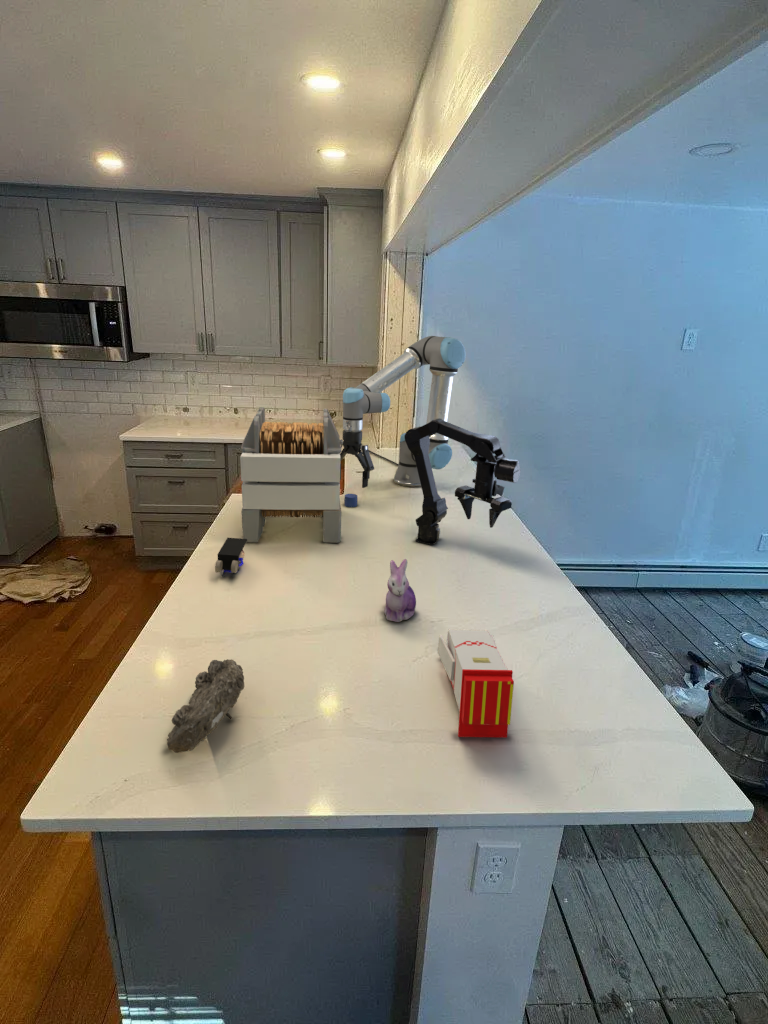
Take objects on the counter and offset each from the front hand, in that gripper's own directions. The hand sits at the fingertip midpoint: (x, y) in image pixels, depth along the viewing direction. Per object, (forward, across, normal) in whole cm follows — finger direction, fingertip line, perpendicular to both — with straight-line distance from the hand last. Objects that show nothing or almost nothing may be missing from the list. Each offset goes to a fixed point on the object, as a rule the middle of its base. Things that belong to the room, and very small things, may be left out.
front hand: (479, 523), depth 182 cm
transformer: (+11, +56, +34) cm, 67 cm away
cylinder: (+11, +62, +3) cm, 63 cm away
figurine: (+11, -12, +47) cm, 50 cm away
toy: (+11, -44, +57) cm, 73 cm away
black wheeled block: (+11, +37, +68) cm, 78 cm away
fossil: (+11, -18, +102) cm, 104 cm away
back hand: (+2, +62, +3) cm, 62 cm away
